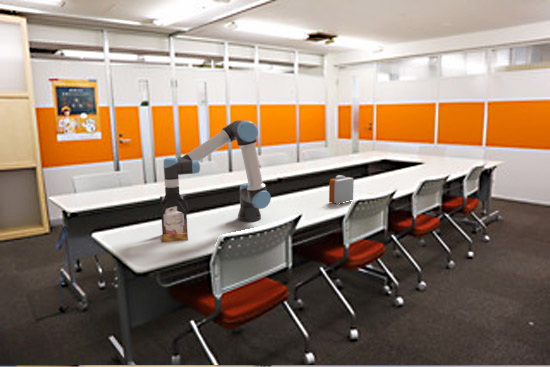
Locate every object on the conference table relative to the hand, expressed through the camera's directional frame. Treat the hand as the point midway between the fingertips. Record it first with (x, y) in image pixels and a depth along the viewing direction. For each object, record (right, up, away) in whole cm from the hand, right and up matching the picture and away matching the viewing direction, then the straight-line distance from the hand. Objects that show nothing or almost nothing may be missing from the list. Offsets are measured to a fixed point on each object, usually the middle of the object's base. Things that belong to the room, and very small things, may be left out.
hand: (174, 225), depth 219 cm
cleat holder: (0, -7, +1) cm, 7 cm away
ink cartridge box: (0, -5, +1) cm, 5 cm away
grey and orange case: (+107, +9, +79) cm, 133 cm away
